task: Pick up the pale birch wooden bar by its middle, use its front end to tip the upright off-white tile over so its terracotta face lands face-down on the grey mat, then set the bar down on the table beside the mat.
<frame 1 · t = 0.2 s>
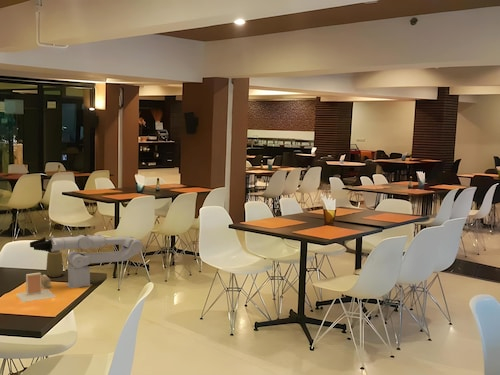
hand: (31, 245, 250), 21 cm above the table, tool horizontal, fingers open, 7 cm apart
tile: (34, 293, 248), resting on mat
squeeze bottle: (55, 276, 278), on the table
mat: (35, 296, 246), on the table
wooden bar: (44, 286, 260), on the table
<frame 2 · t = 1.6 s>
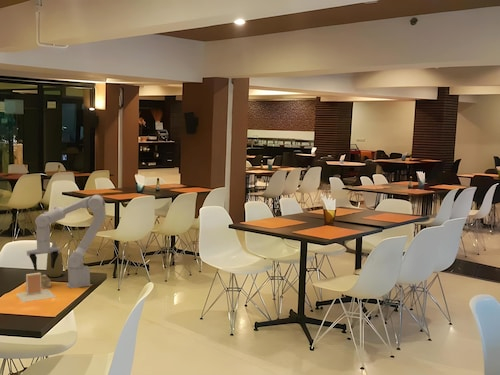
hand: (44, 268, 259), 8 cm above the table, tool pointing down, fingers open, 7 cm apart
nothing on the table moved.
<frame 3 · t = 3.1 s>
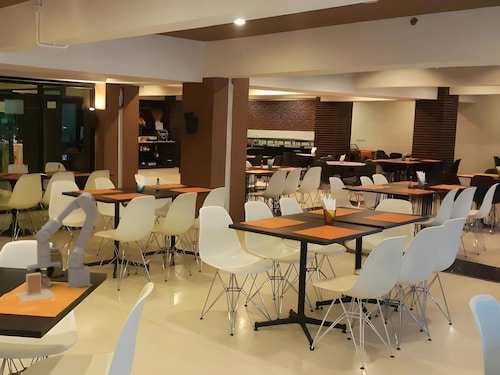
hand: (44, 283, 260), 1 cm above the table, tool pointing down, fingers closed on wooden bar, 3 cm apart
wooden bar: (44, 286, 260), on the table, touching gripper
everything else where it was.
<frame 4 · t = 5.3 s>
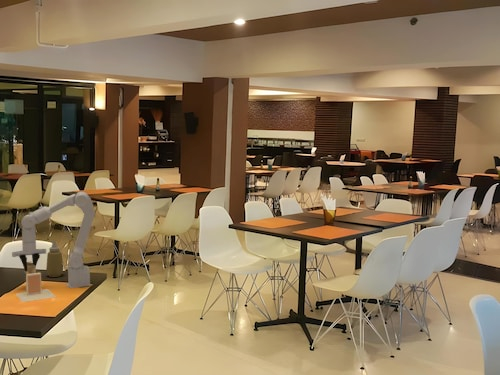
hand: (29, 270, 256), 8 cm above the table, tool pointing down, fingers closed on wooden bar, 3 cm apart
wooden bar: (29, 273, 256), point 7 cm above the table, touching gripper
everything else where it was.
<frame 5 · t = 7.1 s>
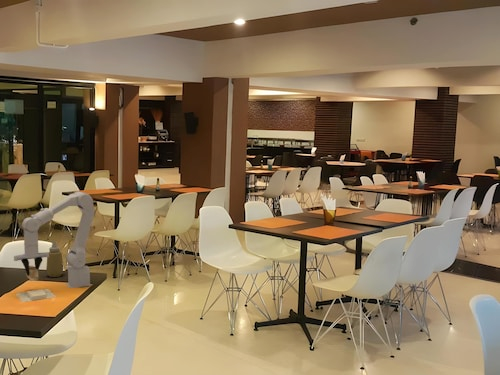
hand: (32, 274, 249), 8 cm above the table, tool pointing down, fingers closed on wooden bar, 3 cm apart
tile: (34, 291, 247), point 1 cm above the table, tilted 90°, touching mat
wooden bar: (32, 278, 250), point 7 cm above the table, touching gripper
everything else where it was.
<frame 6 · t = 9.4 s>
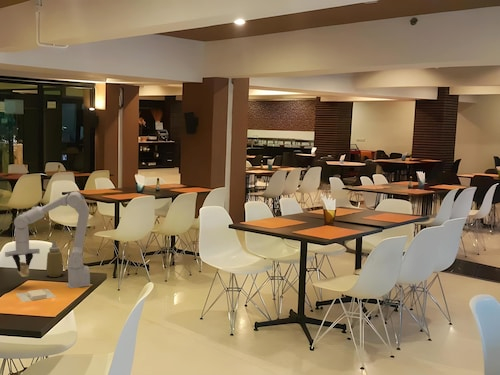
hand: (23, 270, 256), 8 cm above the table, tool pointing down, fingers closed on wooden bar, 3 cm apart
wooden bar: (23, 273, 256), point 7 cm above the table, touching gripper
everything else where it was.
when the fingers open (2 cm above the table, at t = 10.9 s): wooden bar stays where it is, on the table.
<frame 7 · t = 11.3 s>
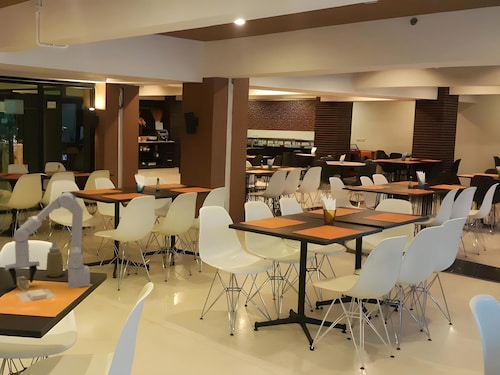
hand: (23, 283, 257), 2 cm above the table, tool pointing down, fingers open, 6 cm apart
wooden bar: (23, 288, 257), on the table
everything else where it was.
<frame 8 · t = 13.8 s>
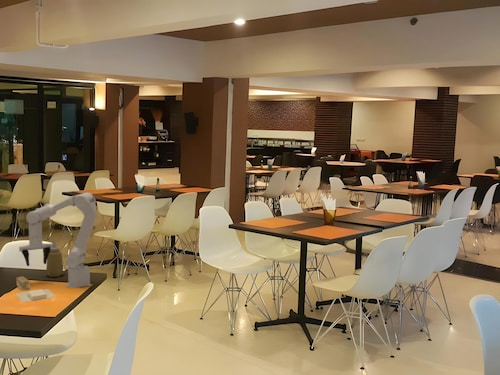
hand: (36, 264, 263), 9 cm above the table, tool pointing down, fingers open, 7 cm apart
nothing on the table moved.
at the end: tile tilted 90°; tile inside the target area (2.6 cm from its centre), point 1.3 cm above the table; wooden bar inside the target area (0.1 cm from its centre), on the table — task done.
